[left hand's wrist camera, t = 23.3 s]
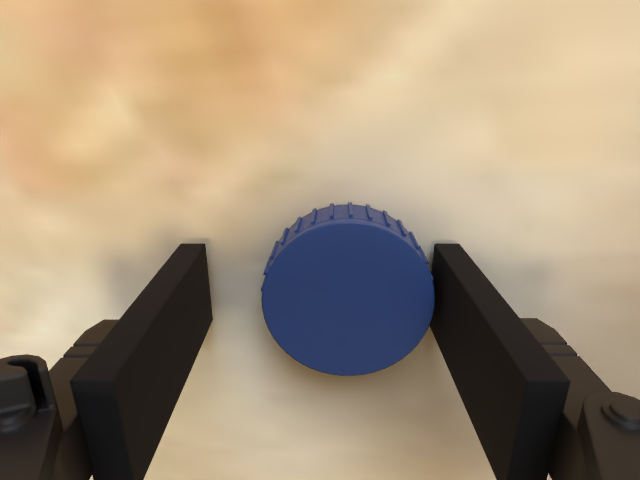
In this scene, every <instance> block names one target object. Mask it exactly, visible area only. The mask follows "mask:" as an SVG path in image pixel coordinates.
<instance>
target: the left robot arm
mask: <svg viewBox="0 0 640 480" xmlns="http://www.w3.org/2000/svg"><path fill="white" fill-rule="evenodd" d="M432 276H433V279H434V281H433V286H434V294H435V303H434V311H433V316H432V319H431V322H430V327H431V330H432V332H433V334H434V337H435V339H436V341H437V343H438V346H439V348H440V350H441V353H442V355H443V357H444V359H445V362H446V364H447V366H448V369H449V371H450V373H451V376H452V378H453V380H454V382H455V385H456V387H457V389H458V392H459V394H460V396H461V399H462V401H463V403H464V405H465V408H466V410H467V412H468V415H469V417H470V419H471V422H472V424H473V426H474V428H475V431H476V433H477V435H478V438H479V440H480V442H481V445H482V447H483V449H484V451H485V454H486V456H487V458H488V461H489V463H490V465H491V468H492V470H493V472H494V474H495V477H496V479H497V480H547V476H548V473H549V475H550V477H551V478H552V480H640V400H638V399H636V398H634V397H631V396H628V395H624V394H621V393H618V392H612V391H611V390H610V389H609V388H608V387H607V386H606V385H605V384H604V383H603V382H602V380H601V379H600V378H599V377H598V376H597V375H596V374H595V373H594V372H593V371H592V370H591V368H590V367H589V366H588V365H587V364H586V363H585V362H584V361H583V360H582V359H581V358H580V356H577V353H576V352H575V351H574V350H573V349H572V348H571V347H570V346H569V345H567V342H566V341H565V340H564V339H563V338H562V337H561V336H560V335H559V333H558V332H557V331H556V330H555V329H553V328H552V327H550V326H548V325H547V324H545V323H543V322H542V321H540V320H538V319H537V318H519V317H518V316H517V315H516V313H515V312H514V311H513V310H512V308H511V307H510V306H509V305H508V303H507V302H506V301H505V300H504V299H503V297H502V296H501V295H500V294H499V292H498V291H497V290H496V289H495V287H494V286H493V285H492V284H491V283H490V281H489V280H488V279H487V278H486V276H485V275H484V274H483V273H482V271H481V270H480V269H479V268H478V267H477V265H476V264H475V263H474V262H473V260H472V259H471V258H470V257H469V256H468V254H467V253H466V252H465V251H464V249H463V248H462V247H461V246H460V244H435V246H434V256H433V266H432ZM212 320H213V318H212V308H211V298H210V288H209V278H208V268H207V258H206V248H205V244H180V245H179V247H178V248H177V249H176V250H175V252H174V253H173V254H172V255H171V257H170V258H169V259H168V260H167V261H166V263H165V264H164V265H163V266H162V268H161V269H160V270H159V271H158V273H157V274H156V275H155V276H154V278H153V279H152V280H151V281H150V282H149V284H148V285H147V286H146V287H145V289H144V290H143V291H142V292H141V294H140V295H139V296H138V297H137V298H136V300H135V301H134V302H133V303H132V305H131V306H130V307H129V308H128V310H127V311H126V312H125V313H124V314H123V316H122V317H121V318H120V319H119V320H103V321H101V322H99V323H98V324H96V325H94V326H93V327H91V328H89V329H88V330H86V331H85V332H84V333H83V334H82V335H81V336H80V337H79V339H78V340H77V341H76V342H75V343H74V344H73V347H70V349H69V350H68V351H67V352H66V353H65V354H64V357H63V358H60V360H59V361H58V362H57V363H56V364H55V365H54V366H53V367H52V368H51V369H50V371H48V368H47V364H46V361H45V360H43V359H42V358H41V357H39V356H33V355H16V356H10V357H6V358H2V359H0V480H89V479H90V477H91V475H93V479H94V480H143V479H144V477H145V474H146V472H147V470H148V468H149V465H150V463H151V461H152V458H153V456H154V454H155V451H156V449H157V447H158V445H159V442H160V440H161V438H162V435H163V433H164V431H165V428H166V426H167V424H168V421H169V419H170V417H171V415H172V412H173V410H174V408H175V405H176V403H177V401H178V398H179V396H180V394H181V392H182V389H183V387H184V385H185V382H186V380H187V378H188V375H189V373H190V371H191V368H192V366H193V364H194V362H195V359H196V357H197V355H198V352H199V350H200V348H201V345H202V343H203V341H204V339H205V336H206V334H207V332H208V329H209V327H210V325H211V322H212Z"/></svg>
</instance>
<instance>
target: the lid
mask: <svg viewBox="0 0 640 480" xmlns="http://www.w3.org/2000/svg"><path fill="white" fill-rule="evenodd" d="M428 264H429V263H428V261H427V259H426V257H425V255H424V253H423V251H422V249H421V247H420V246H418V243H417V241H416V239H415V237H414V235H413V233H412V232H410V233H408V231H407V230H406V229H405V228H404V227H403V225H402V222H401V221H400V220H398V221H396V220H394V219H393V218H391V217H390V216H388V215H387V212H386V211H383V212H380V211H377V210H375V209H372V208H370V205H366V207H364V206H357V205H352V203H348V205H337V206H334V204H330V207H327V208H323V209H319V210H316V208H315V209H313V211H312V213H310V214H308V215H306V216H305V217H303V218H301V217H299V218H297V222H296V223H295V224H293V225H292V226H291V227H290V228H289V229H288V228H286V229H285V231H284V234H283V237H282V238H281V239H280V241H279V242H278V241H276V243H275V245H274V248H273V251H272V254H271V256H270V257H269V260H268V263H267V265H266V268H265V271H264V274H263V275H266V276H265V279H264V282H263V285H262V288H261V291H262V310H263V314H264V318H265V321H266V324H267V326H268V329H269V331H270V332H271V334H272V336H273V338H274V339H275V340H276V342H277V343H278V344H279V346H280V347H281V348H282V349H283V350H284V351H285V352H286V353H287V354H289V355H290V356H291V357H292V358H294V359H295V360H297V361H298V362H300V363H301V364H303V365H305V366H307V367H309V368H311V369H314V370H317V371H320V372H323V373H328V374H333V375H342V376H354V375H363V374H368V373H373V372H376V371H379V370H382V369H385V368H387V367H389V366H391V365H393V364H395V363H396V362H398V361H399V360H401V359H403V358H404V357H405V356H406V355H408V354H409V353H410V352H411V351H412V350H413V349H414V348H415V347H416V346H417V345H418V343H419V342H420V341H421V339H422V338H423V336H424V335H425V333H426V331H427V329H428V327H429V325H430V322H431V319H432V316H433V311H434V303H435V294H434V286H433V281H434V279H433V276H432V274H431V272H430V270H429V268H428V266H427V265H428Z"/></svg>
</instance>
